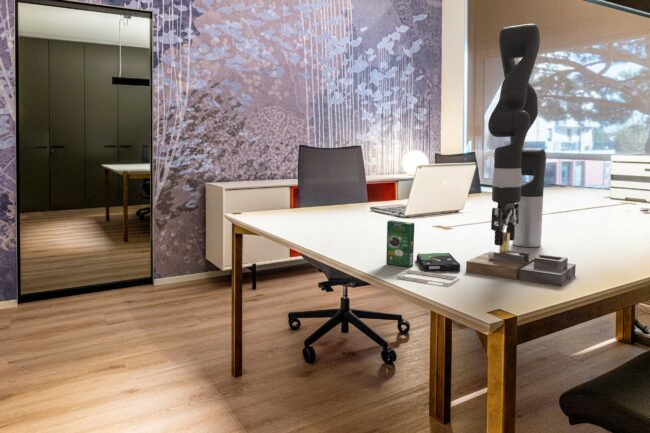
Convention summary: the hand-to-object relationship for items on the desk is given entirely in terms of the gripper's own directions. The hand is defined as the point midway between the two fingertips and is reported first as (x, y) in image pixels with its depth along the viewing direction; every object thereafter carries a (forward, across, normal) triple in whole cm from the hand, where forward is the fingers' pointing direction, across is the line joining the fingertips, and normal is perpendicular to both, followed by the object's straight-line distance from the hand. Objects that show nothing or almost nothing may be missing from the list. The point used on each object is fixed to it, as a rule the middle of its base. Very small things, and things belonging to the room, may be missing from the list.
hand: (504, 242), depth 147 cm
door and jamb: (+8, 0, +5) cm, 9 cm away
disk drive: (+9, +5, -18) cm, 21 cm away
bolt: (+5, 0, 0) cm, 5 cm away
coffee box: (+8, +11, -27) cm, 30 cm away
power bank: (+9, +20, -13) cm, 25 cm away
